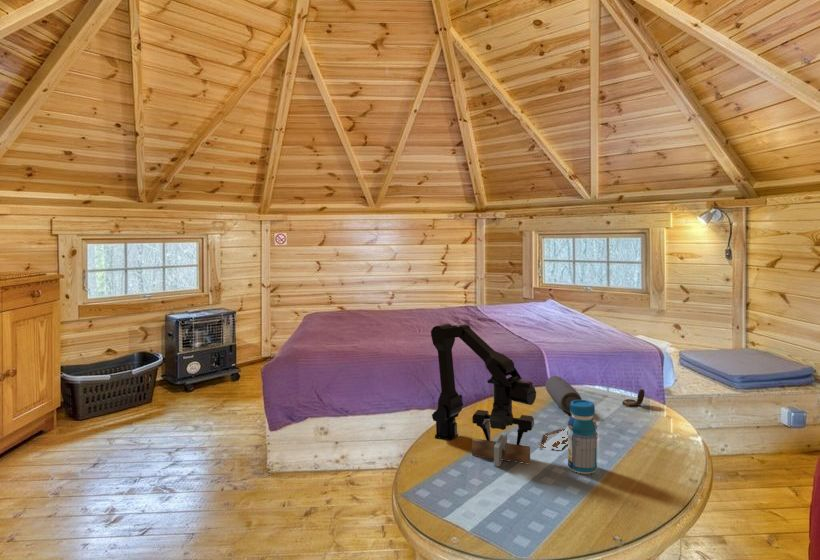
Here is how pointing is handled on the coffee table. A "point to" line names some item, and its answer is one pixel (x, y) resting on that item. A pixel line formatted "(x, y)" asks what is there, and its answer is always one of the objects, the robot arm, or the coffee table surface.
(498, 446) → the tapered grey plank
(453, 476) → the coffee table surface
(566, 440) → the wooden fragment
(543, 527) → the coffee table surface
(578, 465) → the beverage bottle
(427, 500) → the coffee table surface
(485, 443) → the stepped wooden block
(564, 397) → the bluetooth speaker
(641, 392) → the compass
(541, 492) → the coffee table surface
